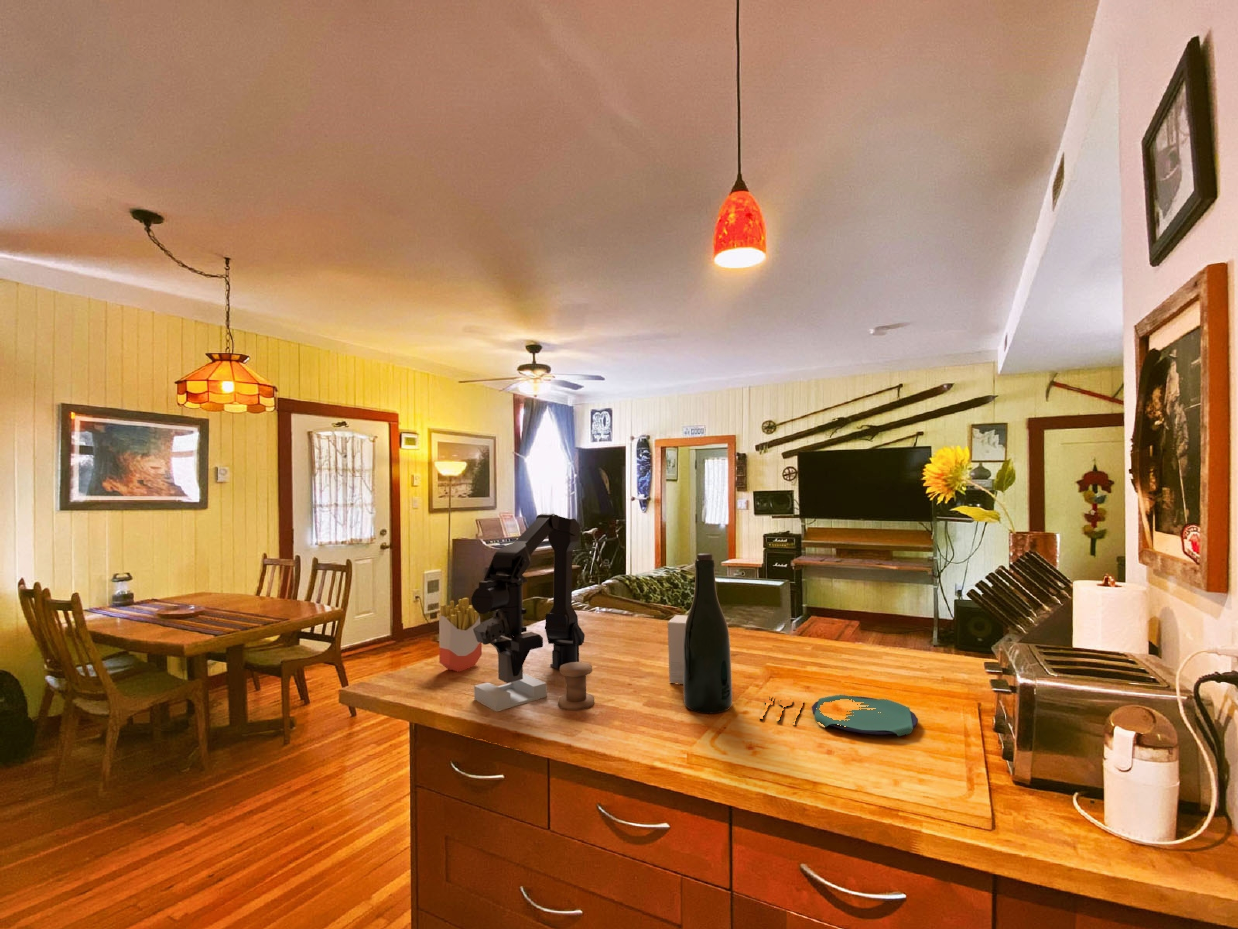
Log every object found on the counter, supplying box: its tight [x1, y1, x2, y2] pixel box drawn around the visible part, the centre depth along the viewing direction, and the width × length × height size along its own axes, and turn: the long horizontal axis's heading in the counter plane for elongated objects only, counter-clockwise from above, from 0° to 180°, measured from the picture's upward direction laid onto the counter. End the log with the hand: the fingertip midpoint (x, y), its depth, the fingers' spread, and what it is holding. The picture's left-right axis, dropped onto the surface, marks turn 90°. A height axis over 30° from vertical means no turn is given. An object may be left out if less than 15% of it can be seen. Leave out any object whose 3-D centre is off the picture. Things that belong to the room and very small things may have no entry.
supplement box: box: [667, 614, 688, 685], centre depth 144 cm, size 9×9×15 cm
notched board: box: [473, 672, 548, 713], centre depth 133 cm, size 13×10×3 cm
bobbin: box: [557, 661, 595, 711], centre depth 129 cm, size 8×8×8 cm
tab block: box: [497, 651, 524, 684], centre depth 133 cm, size 4×4×6 cm
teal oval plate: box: [811, 694, 919, 737], centre depth 119 cm, size 20×30×2 cm, turn 66°
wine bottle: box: [683, 552, 733, 714], centre depth 127 cm, size 10×10×33 cm
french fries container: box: [438, 597, 483, 673], centre depth 156 cm, size 5×11×18 cm, turn 145°
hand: (510, 673), depth 133 cm, fingers closed on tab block, 4 cm apart
